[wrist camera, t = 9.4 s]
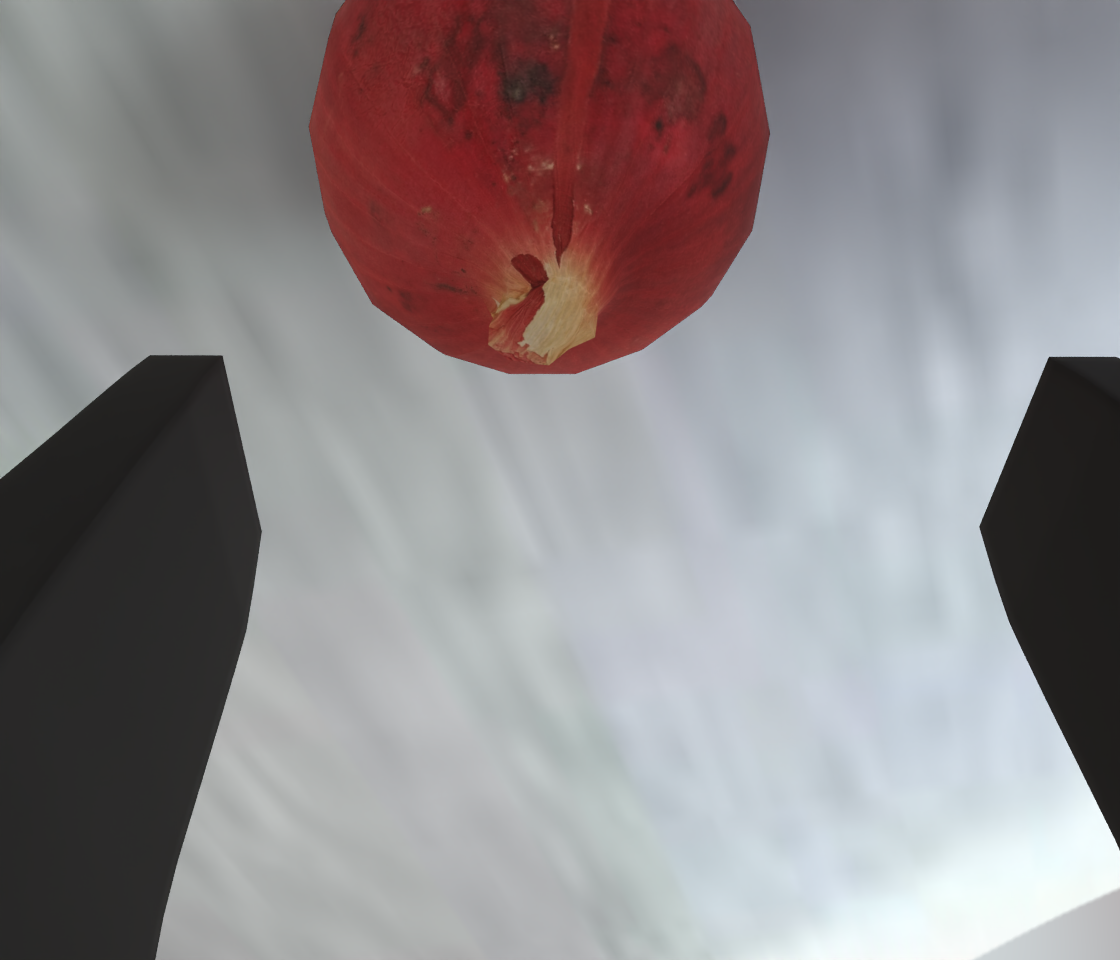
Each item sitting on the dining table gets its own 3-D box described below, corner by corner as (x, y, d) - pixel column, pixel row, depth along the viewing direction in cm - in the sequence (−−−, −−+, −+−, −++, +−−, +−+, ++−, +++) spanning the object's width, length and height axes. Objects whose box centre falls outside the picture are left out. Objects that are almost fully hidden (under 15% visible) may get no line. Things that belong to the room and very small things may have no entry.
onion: (325, -168, 14) (188, -4, 8) (739, -162, 14) (917, 4, 8) (368, 222, 18) (299, 539, 12) (695, 222, 18) (794, 531, 12)
